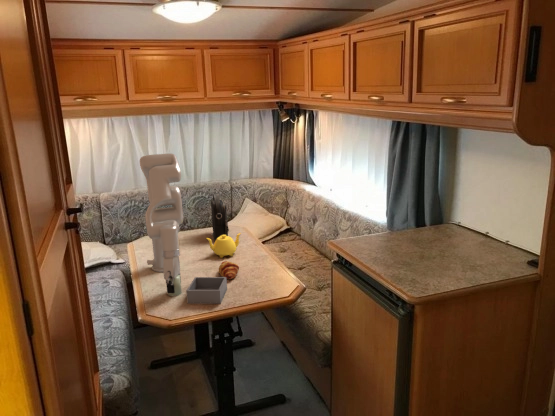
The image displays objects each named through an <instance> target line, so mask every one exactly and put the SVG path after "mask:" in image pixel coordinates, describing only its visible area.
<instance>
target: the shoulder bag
mask: <svg viewBox="0 0 555 416" xmlns="http://www.w3.org/2000/svg"><path fill="white" fill-rule="evenodd" d="M212 198H213V199H212V200H211V201H210V208H211V209H210V210H211V224H212V232H210V235H211V237H212V239H213V242H215V241H216V239H217V238H218V237H220V236H222V235H226V236H229V231H230V229H229V226H228V225H229V223H228V215H227V204H226V203H225V201H224V200H223V199H220V196H219V193H213V194H212Z"/></svg>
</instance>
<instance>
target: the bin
mask: <svg viewBox="0 0 555 416" xmlns="http://www.w3.org/2000/svg"><path fill="white" fill-rule="evenodd" d="M227 280H228V279H226V277H223V276H195V277H194V278H193V280H192V281H191V282H190V284H189V286H188V287H187V289H186V292H185V293H186V302H187V303H186V304H206V305H207V304H209V305H210V304H211V305H212V304H215V305H216V304H219V305H220V304H222V302H223V299H224V298H225V295H226V293H227V291H228V282H227Z"/></svg>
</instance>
